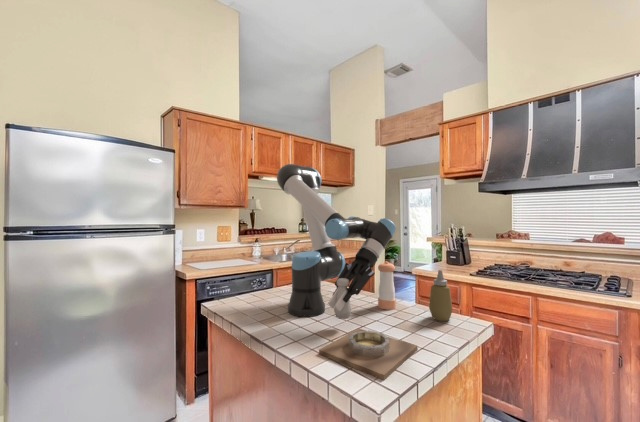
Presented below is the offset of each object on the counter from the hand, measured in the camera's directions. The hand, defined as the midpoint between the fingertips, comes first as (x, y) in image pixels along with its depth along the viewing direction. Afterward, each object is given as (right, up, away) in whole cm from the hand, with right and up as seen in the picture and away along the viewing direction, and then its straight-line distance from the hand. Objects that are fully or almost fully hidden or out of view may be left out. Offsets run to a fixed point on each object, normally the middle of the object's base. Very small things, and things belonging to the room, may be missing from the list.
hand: (333, 307), depth 96 cm
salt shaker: (+3, -4, +2) cm, 6 cm away
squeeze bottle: (+40, -8, +11) cm, 43 cm away
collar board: (+9, -8, -15) cm, 19 cm away
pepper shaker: (+24, -9, +25) cm, 36 cm away
